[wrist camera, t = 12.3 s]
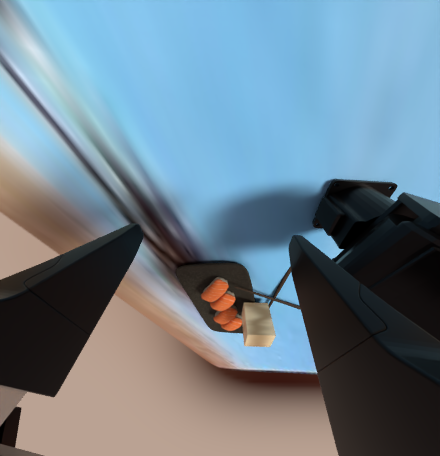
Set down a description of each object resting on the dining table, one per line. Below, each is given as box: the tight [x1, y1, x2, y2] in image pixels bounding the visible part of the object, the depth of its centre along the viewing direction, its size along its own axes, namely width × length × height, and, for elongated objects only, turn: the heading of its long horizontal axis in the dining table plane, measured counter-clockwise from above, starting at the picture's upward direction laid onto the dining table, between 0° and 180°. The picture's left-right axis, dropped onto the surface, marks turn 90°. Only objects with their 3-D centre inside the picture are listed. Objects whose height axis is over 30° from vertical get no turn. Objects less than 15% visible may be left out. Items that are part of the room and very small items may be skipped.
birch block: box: [242, 302, 276, 347], centre depth 32 cm, size 5×5×6 cm
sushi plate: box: [176, 263, 301, 333], centre depth 34 cm, size 29×30×4 cm
